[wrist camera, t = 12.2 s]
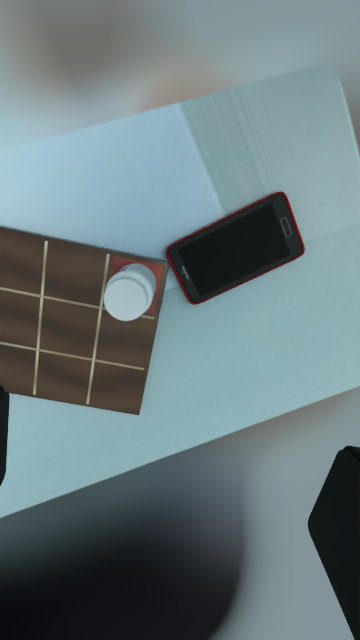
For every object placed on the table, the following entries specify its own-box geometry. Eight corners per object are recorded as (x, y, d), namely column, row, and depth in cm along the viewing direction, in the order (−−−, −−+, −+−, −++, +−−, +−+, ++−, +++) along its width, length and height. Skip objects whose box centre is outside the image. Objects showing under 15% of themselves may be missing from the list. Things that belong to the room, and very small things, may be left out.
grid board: (-12, 223, 36) (-18, 223, 35) (169, 261, 37) (169, 262, 36) (-16, 384, 42) (-21, 388, 41) (139, 411, 43) (138, 415, 42)
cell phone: (304, 253, 37) (307, 253, 36) (191, 305, 39) (191, 307, 38) (281, 188, 35) (284, 188, 34) (163, 247, 36) (162, 248, 36)
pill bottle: (125, 255, 36) (111, 265, 28) (163, 273, 36) (160, 288, 28) (109, 291, 37) (91, 312, 29) (146, 309, 38) (138, 333, 30)
